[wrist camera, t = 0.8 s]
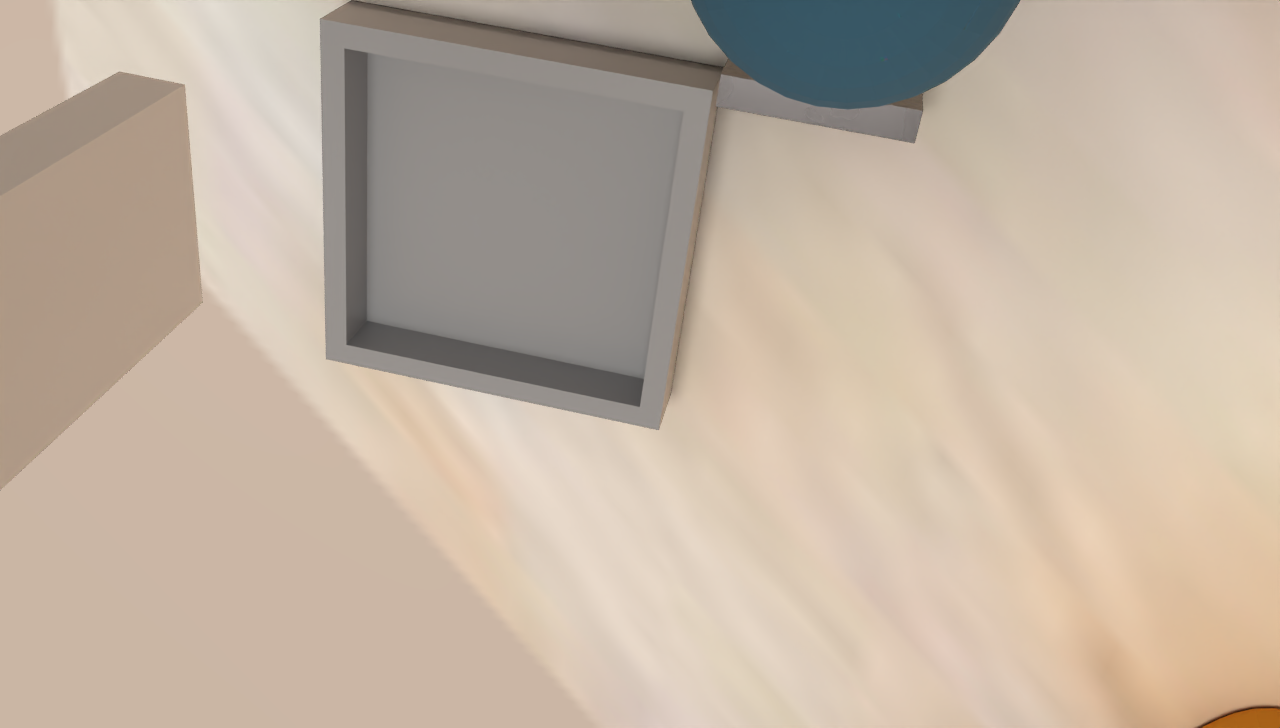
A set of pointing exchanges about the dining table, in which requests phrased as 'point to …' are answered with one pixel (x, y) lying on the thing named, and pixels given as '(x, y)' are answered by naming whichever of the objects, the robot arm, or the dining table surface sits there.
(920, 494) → the dining table surface
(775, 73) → the light bulb
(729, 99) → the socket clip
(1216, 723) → the flashlight
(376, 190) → the parts tray
